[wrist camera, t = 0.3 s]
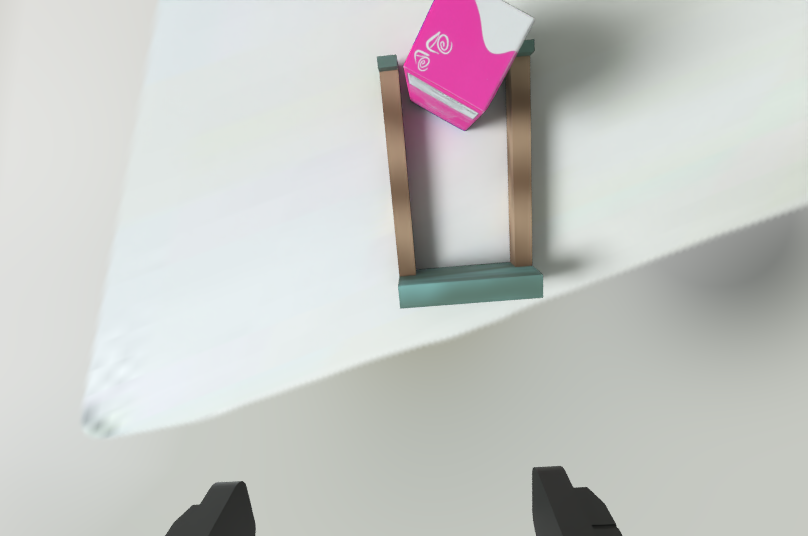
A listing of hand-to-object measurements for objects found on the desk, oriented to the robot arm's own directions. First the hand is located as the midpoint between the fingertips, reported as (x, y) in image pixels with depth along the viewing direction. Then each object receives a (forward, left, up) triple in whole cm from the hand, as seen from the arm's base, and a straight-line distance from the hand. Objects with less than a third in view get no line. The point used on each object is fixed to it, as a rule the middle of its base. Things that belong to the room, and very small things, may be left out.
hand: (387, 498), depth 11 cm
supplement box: (-15, +5, -27) cm, 32 cm away
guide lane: (-7, +5, -27) cm, 29 cm away
